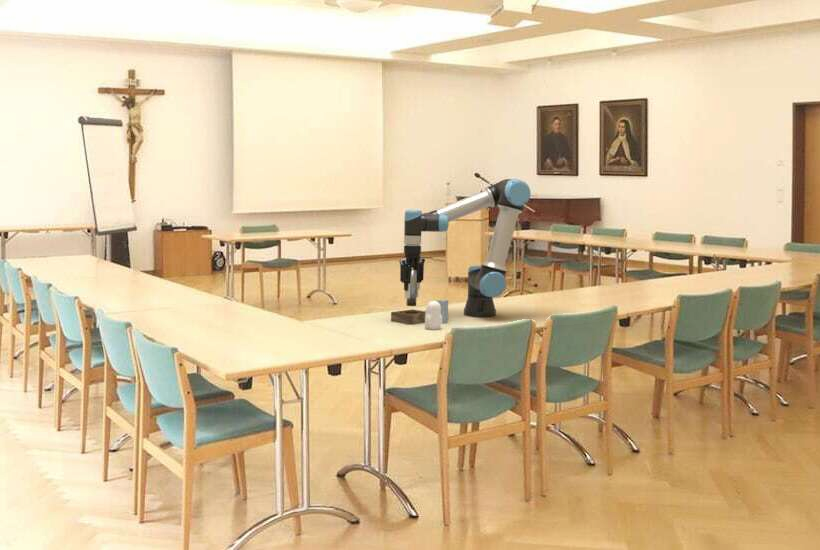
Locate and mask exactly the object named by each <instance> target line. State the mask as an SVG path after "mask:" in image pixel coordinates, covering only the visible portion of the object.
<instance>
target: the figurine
mask: <svg viewBox="0 0 820 550" xmlns="http://www.w3.org/2000/svg"><path fill="white" fill-rule="evenodd" d="M425 312H426V314H425V323H424V328H425V329H426V330H434V331H435V330H440V328H441V326H442V315H441V306H440V304H439V303H438V302H437V301H436V300H431V301H429V302H428V303H427V304H426V308H425Z"/></svg>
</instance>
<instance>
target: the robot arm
mask: <svg viewBox="0 0 820 550" xmlns="http://www.w3.org/2000/svg"><path fill="white" fill-rule="evenodd" d="M530 198H531V189H530V186H529V185H528V183H526V182H525V181H523V180H522V179H518V178H512V179H511V178H506V179H502V180H500V181H498V182H496V183H494V184H491V185H490V186H487V187H485V188H484V189H483V191H480V192H478V193H477V192H476V193H475V194H471V195H470V196H467V197H465V198H463V199H460V200H458V201H454V202H452V203H449V204H447V205H445V206H442V207H439V208H437V209H434V210H432V211H429V212H424V213H423V212H422V210H420V209H407V210H405V212H404V220H403V221H404V234H403V235H404V236H403V238H404V239H403V244H404V245H403V254H404V258H403V259H399V260H398V261H399V264H400V266H399V267H400V268H399V269H400V272H399V274H400V276H399V277H400V278H399V281H400V282H401V283H402V284H403V290H404V298H405V299H407V298H410V283H409V279H410V274H411V269H415V270H417V295H416V298H419V291H420V287H421V286H420V283H422V281H424V275H425V273H424V271H425V270H424V269H425V261H426V258H423V257H421V254H422V246H421V245H422V232H428V233H429V232H437V233H442V232H447V231H448V229H449V225H450V224H449V223H450V222H453V221H455V220H458V219H461V218H463V217H465V216H468V215H470V214H473V213H476V212H478V211H481V210H483V209H486V208H488V207H491V208H494V207H498V209H499V211H498V215H497V220H496V223H495V227H494V231H493V234H492V238H491V242H490V245H489V247H488V248H489V249H488V252H487V257H486V259H485V261H484V262H483V263H482V264H481V265H472V266H471V265H470V266H469V267H468V272H467V299H466V303H465V306H464V308H463V315H465V316H469V317H475V318H476V317H478V318H485V317H489V318H490V317H494V316H497V309H496V308H495V307H496V305H495V302H494V299H493V298H495V297H496V298H497V297H499V296H500V295H502V294H503V293H504V292H505V290H506V288H507V280H506V274H507V270H508V269H506V267H505V265H506V262H507V258H508V254H509V250H510V247H511V243H512V239H513V237H514V232H515V227H516V224H517V222H518V221H517V220H518V217H519V215H520V214H522V213H523V211H524V209H525V205H526V204H527V203H528V202H529V201H530Z"/></svg>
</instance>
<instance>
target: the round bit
mask: <svg viewBox="0 0 820 550" xmlns="http://www.w3.org/2000/svg"><path fill="white" fill-rule="evenodd" d="M409 283H410V298H406V307H416V306H417V297H416V295H417V270H415V269H413V268H412V269H411V274H410V279H409Z"/></svg>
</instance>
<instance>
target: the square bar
mask: <svg viewBox="0 0 820 550" xmlns="http://www.w3.org/2000/svg"><path fill="white" fill-rule="evenodd" d="M435 301H437V302H438V303H439V304H440V306H441V315H442V324H443V325H445V324H447V323H448V322H449V300H448V299H437V300H435ZM442 324H441V325H442Z"/></svg>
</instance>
